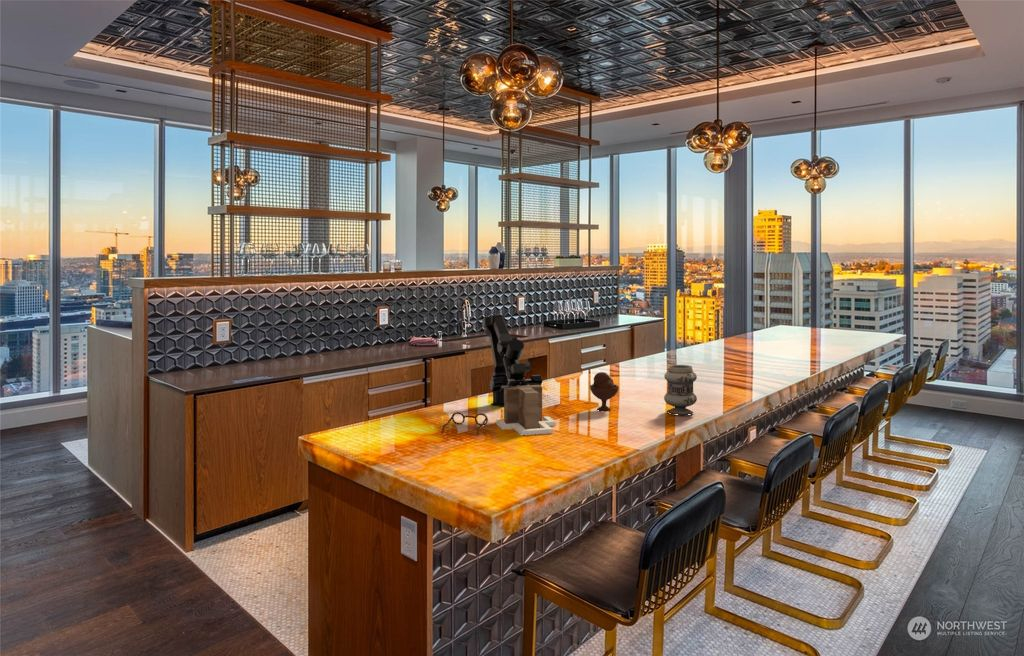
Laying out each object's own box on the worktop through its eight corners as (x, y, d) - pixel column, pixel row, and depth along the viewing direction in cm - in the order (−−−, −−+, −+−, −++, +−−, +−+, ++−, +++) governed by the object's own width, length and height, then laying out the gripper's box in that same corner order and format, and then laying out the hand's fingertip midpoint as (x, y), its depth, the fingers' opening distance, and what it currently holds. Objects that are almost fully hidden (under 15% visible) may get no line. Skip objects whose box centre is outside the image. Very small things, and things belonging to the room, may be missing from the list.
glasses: (488, 426, 229) (488, 412, 229) (478, 436, 217) (478, 422, 216) (452, 425, 232) (452, 411, 232) (440, 434, 220) (440, 420, 219)
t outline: (496, 424, 231) (496, 419, 231) (548, 420, 237) (548, 416, 236) (509, 436, 215) (509, 432, 215) (564, 432, 220) (564, 427, 220)
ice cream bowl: (618, 413, 245) (618, 374, 244) (588, 412, 248) (588, 373, 246) (619, 407, 256) (619, 369, 254) (590, 406, 258) (590, 369, 256)
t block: (504, 422, 234) (503, 386, 232) (538, 420, 237) (538, 384, 236) (514, 431, 221) (513, 394, 220) (550, 428, 224) (550, 391, 223)
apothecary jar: (670, 408, 255) (671, 362, 253) (701, 412, 248) (702, 365, 246) (658, 414, 245) (659, 366, 243) (689, 418, 238) (690, 369, 236)
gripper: (492, 355, 236) (500, 391, 226) (541, 353, 241) (551, 388, 231) (487, 373, 244) (494, 408, 235) (534, 371, 249) (544, 405, 240)
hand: (521, 402), depth 235 cm, fingers closed, pressing on t block
